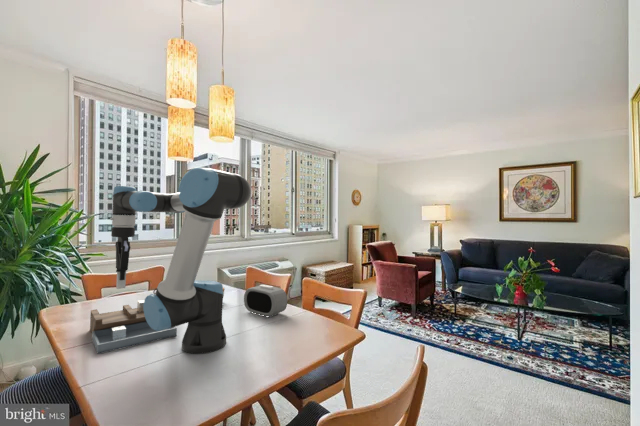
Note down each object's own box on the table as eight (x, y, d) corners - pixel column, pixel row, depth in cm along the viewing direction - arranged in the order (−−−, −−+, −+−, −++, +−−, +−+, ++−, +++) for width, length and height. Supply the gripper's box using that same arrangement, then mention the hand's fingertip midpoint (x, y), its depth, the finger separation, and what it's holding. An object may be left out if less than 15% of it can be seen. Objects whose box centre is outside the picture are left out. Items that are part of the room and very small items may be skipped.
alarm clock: (242, 311, 150) (243, 284, 150) (256, 307, 158) (257, 281, 158) (273, 320, 139) (274, 291, 139) (287, 315, 147) (287, 287, 147)
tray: (176, 335, 118) (176, 328, 118) (97, 353, 101) (97, 344, 101) (164, 324, 129) (164, 317, 129) (91, 339, 112) (92, 331, 112)
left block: (123, 336, 115) (125, 339, 112) (110, 338, 112) (112, 342, 109) (124, 325, 115) (126, 328, 112) (111, 327, 112) (113, 331, 109)
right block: (150, 310, 128) (150, 301, 128) (139, 312, 126) (139, 303, 126) (147, 308, 131) (147, 299, 131) (137, 310, 129) (137, 301, 129)
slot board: (165, 327, 126) (166, 308, 126) (94, 342, 110) (95, 320, 110) (155, 318, 137) (156, 300, 137) (89, 330, 121) (90, 310, 121)
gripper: (108, 225, 118) (105, 286, 118) (115, 227, 109) (112, 293, 108) (130, 225, 123) (128, 283, 123) (139, 227, 114) (136, 290, 113)
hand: (120, 288), depth 115 cm, fingers closed
